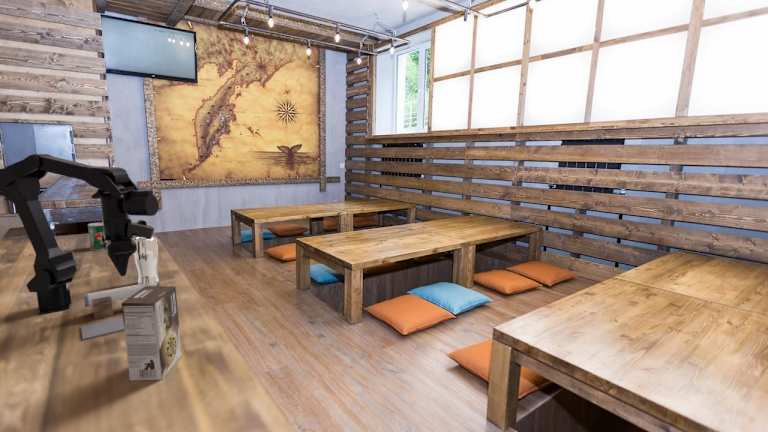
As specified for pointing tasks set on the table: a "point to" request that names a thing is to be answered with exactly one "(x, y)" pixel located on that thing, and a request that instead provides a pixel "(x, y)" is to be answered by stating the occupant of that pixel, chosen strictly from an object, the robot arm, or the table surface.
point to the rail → (116, 293)
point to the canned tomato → (96, 236)
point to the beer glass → (146, 259)
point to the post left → (102, 308)
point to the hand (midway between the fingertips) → (121, 271)
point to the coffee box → (151, 332)
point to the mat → (102, 328)
